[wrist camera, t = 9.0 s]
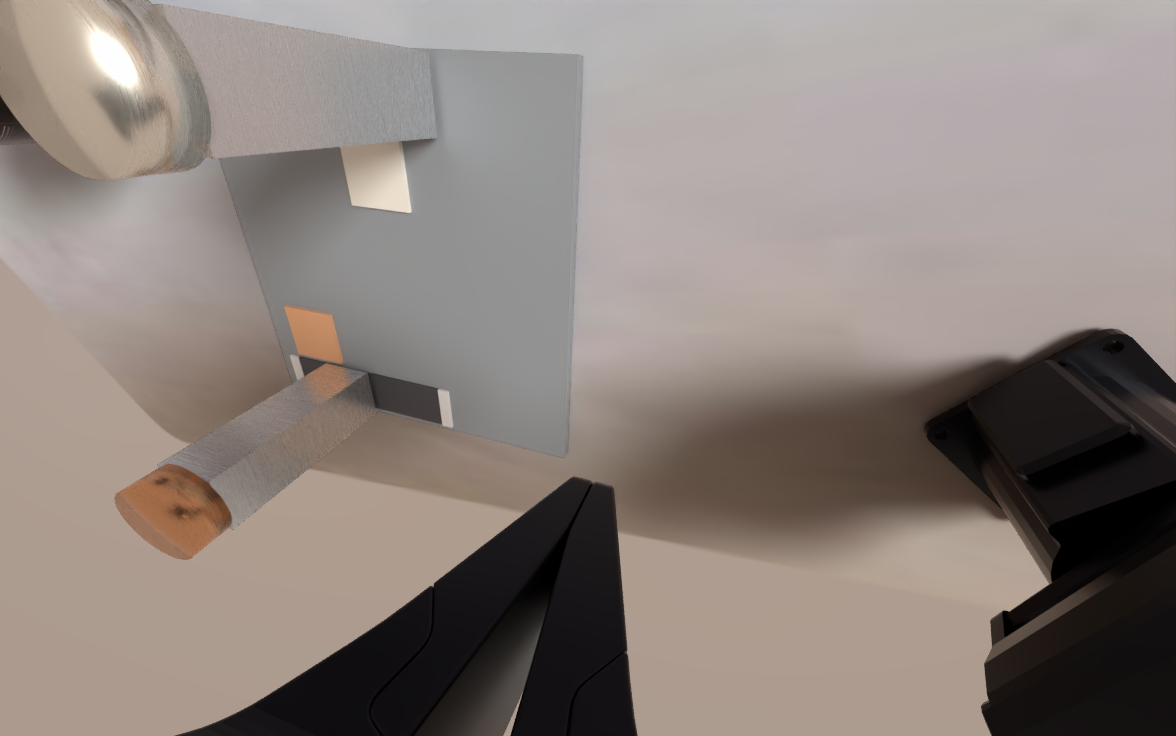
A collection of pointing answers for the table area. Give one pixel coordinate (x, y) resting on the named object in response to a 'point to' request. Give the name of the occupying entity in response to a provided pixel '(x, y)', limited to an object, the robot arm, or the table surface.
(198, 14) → the lever
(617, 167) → the table surface
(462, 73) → the switch board
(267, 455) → the lever
